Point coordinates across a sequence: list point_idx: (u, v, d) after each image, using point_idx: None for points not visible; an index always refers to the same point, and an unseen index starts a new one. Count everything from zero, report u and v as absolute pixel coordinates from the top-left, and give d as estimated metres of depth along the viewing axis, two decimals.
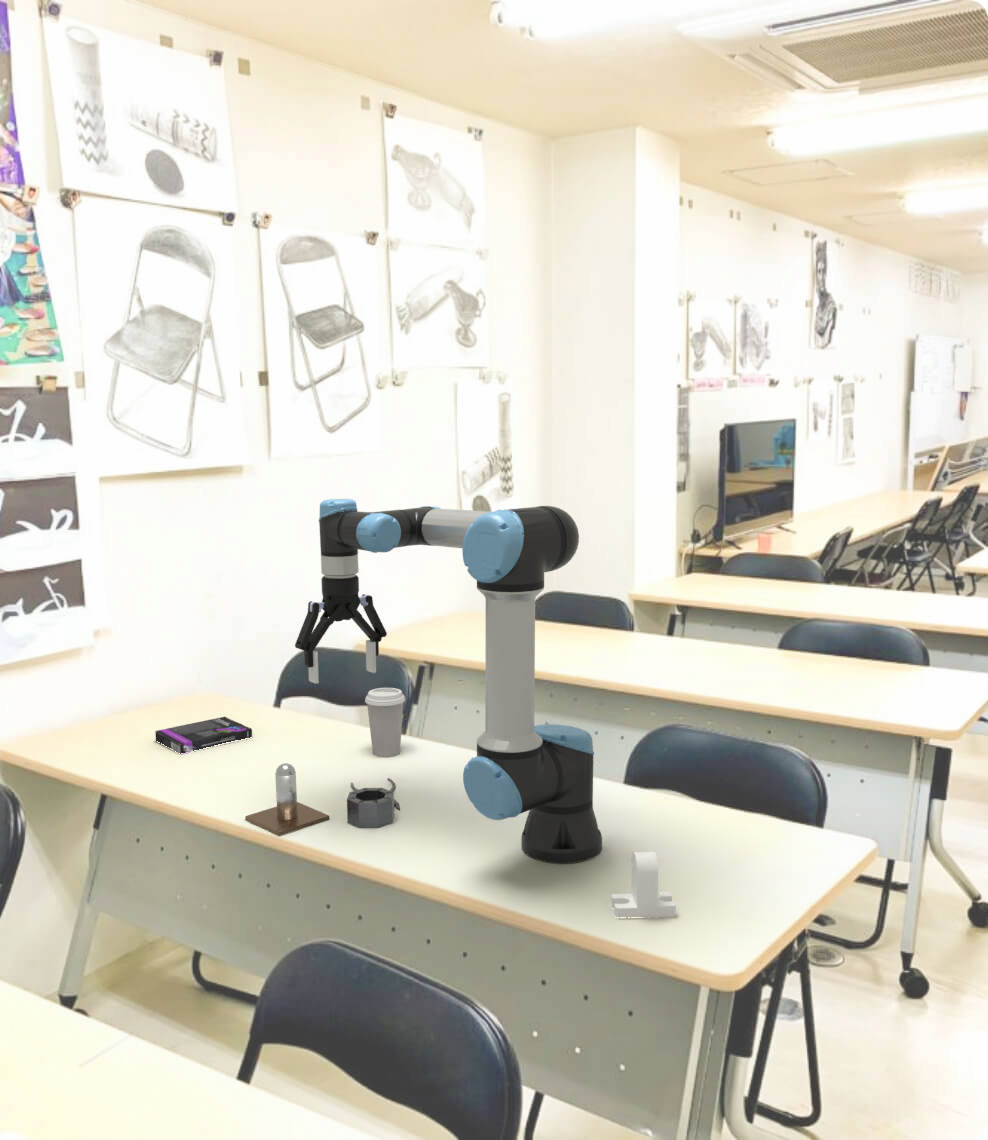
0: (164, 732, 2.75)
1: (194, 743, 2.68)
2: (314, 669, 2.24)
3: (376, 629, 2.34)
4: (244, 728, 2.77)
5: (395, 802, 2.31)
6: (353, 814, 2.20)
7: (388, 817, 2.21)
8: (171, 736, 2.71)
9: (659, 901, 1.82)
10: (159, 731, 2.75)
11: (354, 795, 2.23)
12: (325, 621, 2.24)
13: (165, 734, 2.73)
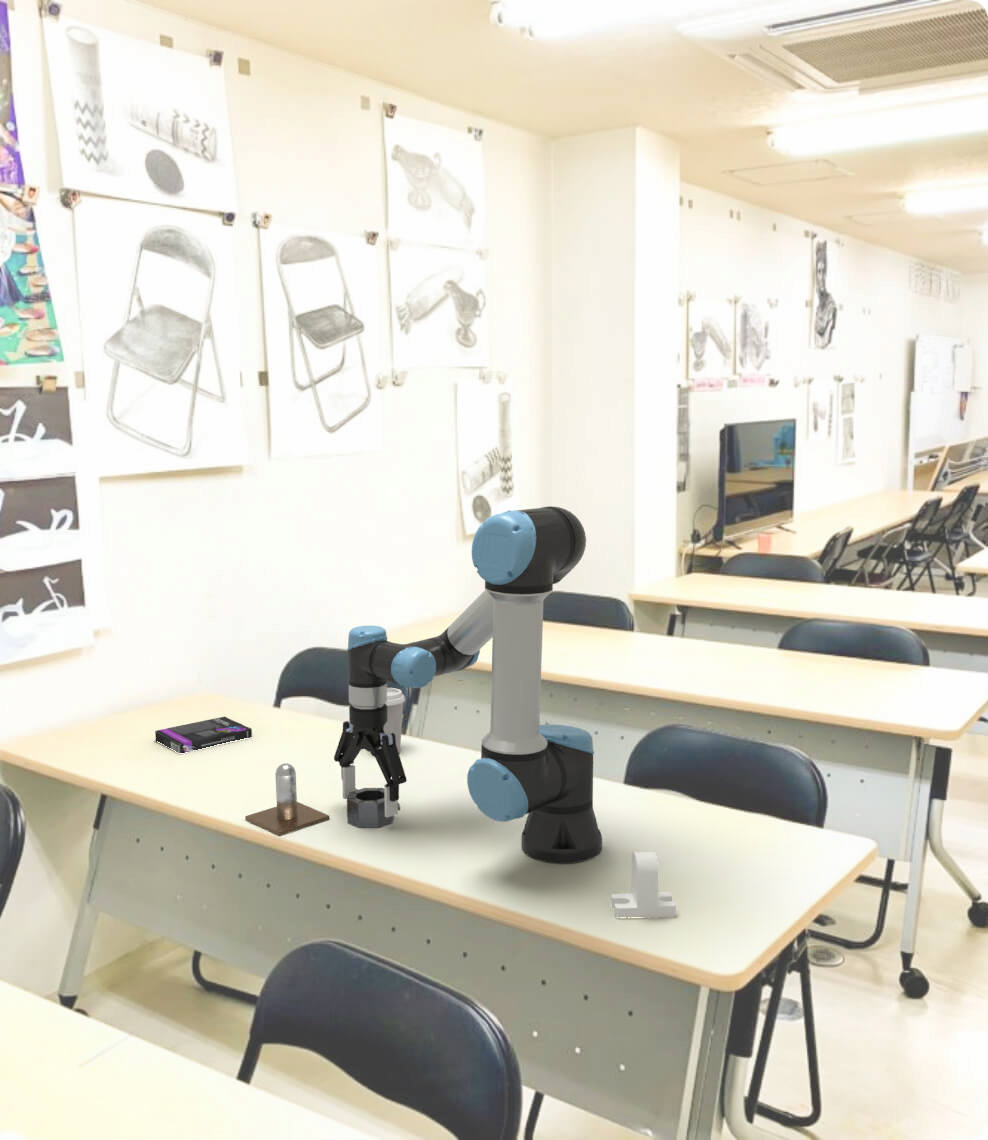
0: (164, 732, 2.75)
1: (193, 743, 2.68)
2: None
3: None
4: (244, 728, 2.77)
5: None
6: (353, 814, 2.20)
7: (388, 817, 2.21)
8: (171, 736, 2.71)
9: (659, 901, 1.82)
10: (159, 731, 2.75)
11: (354, 795, 2.23)
12: None
13: (165, 734, 2.73)
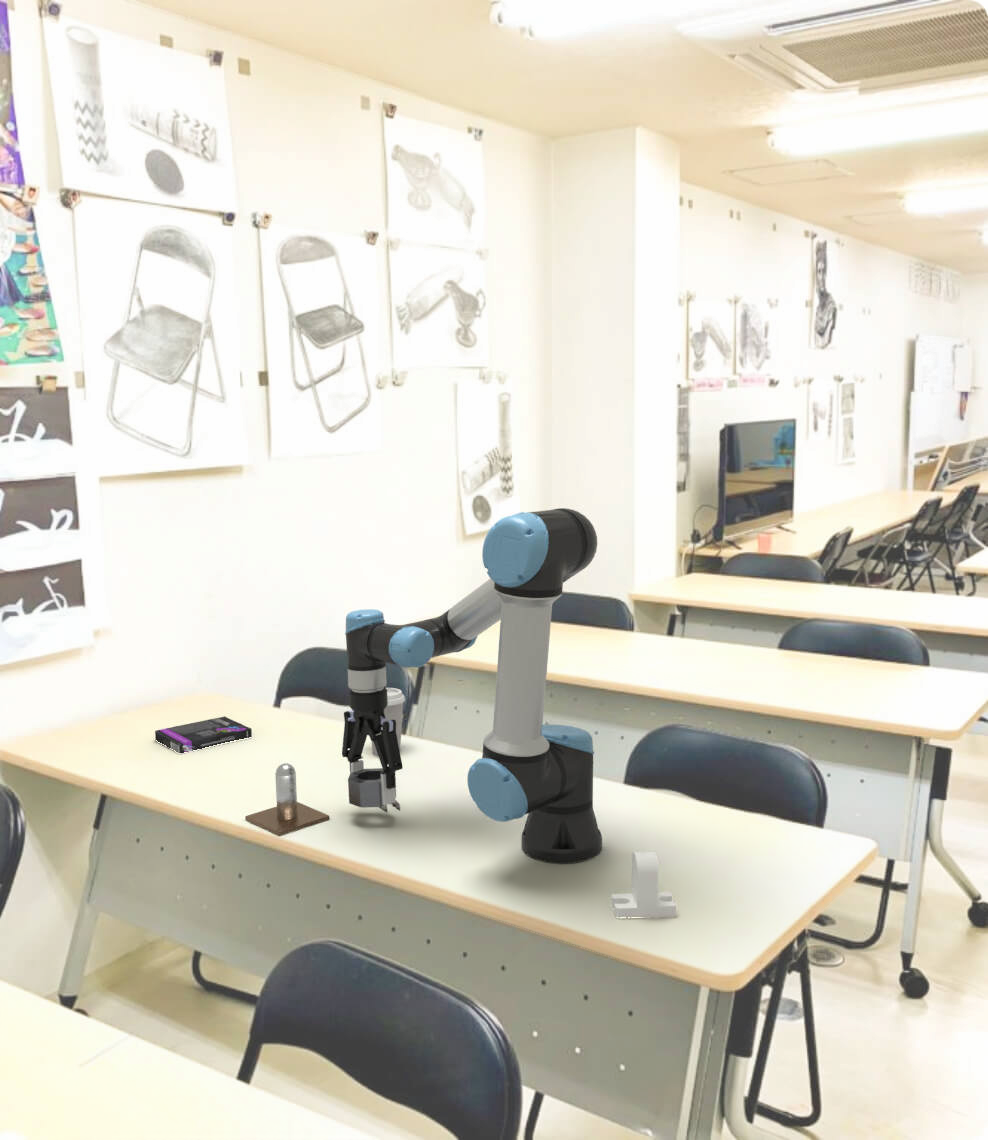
0: (164, 731, 2.75)
1: (193, 743, 2.68)
2: None
3: None
4: (244, 728, 2.78)
5: (395, 802, 2.31)
6: (354, 794, 2.19)
7: None
8: (171, 736, 2.71)
9: (659, 901, 1.82)
10: (159, 731, 2.76)
11: (355, 775, 2.22)
12: None
13: (165, 734, 2.73)
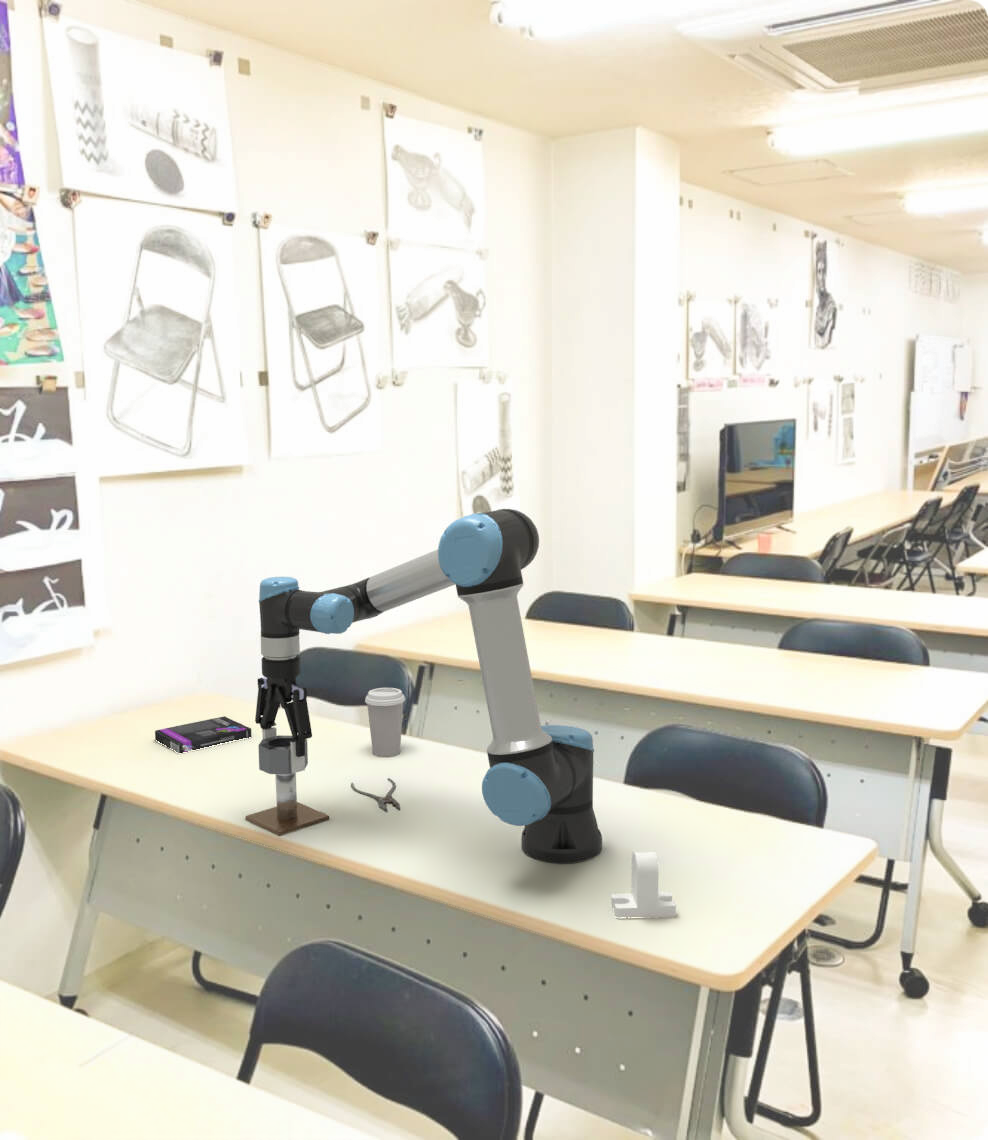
0: (164, 731, 2.75)
1: (193, 743, 2.68)
2: None
3: None
4: (244, 728, 2.78)
5: (395, 802, 2.31)
6: (264, 760, 2.19)
7: None
8: (171, 736, 2.72)
9: (659, 901, 1.82)
10: (159, 731, 2.76)
11: (266, 742, 2.21)
12: None
13: (164, 734, 2.73)
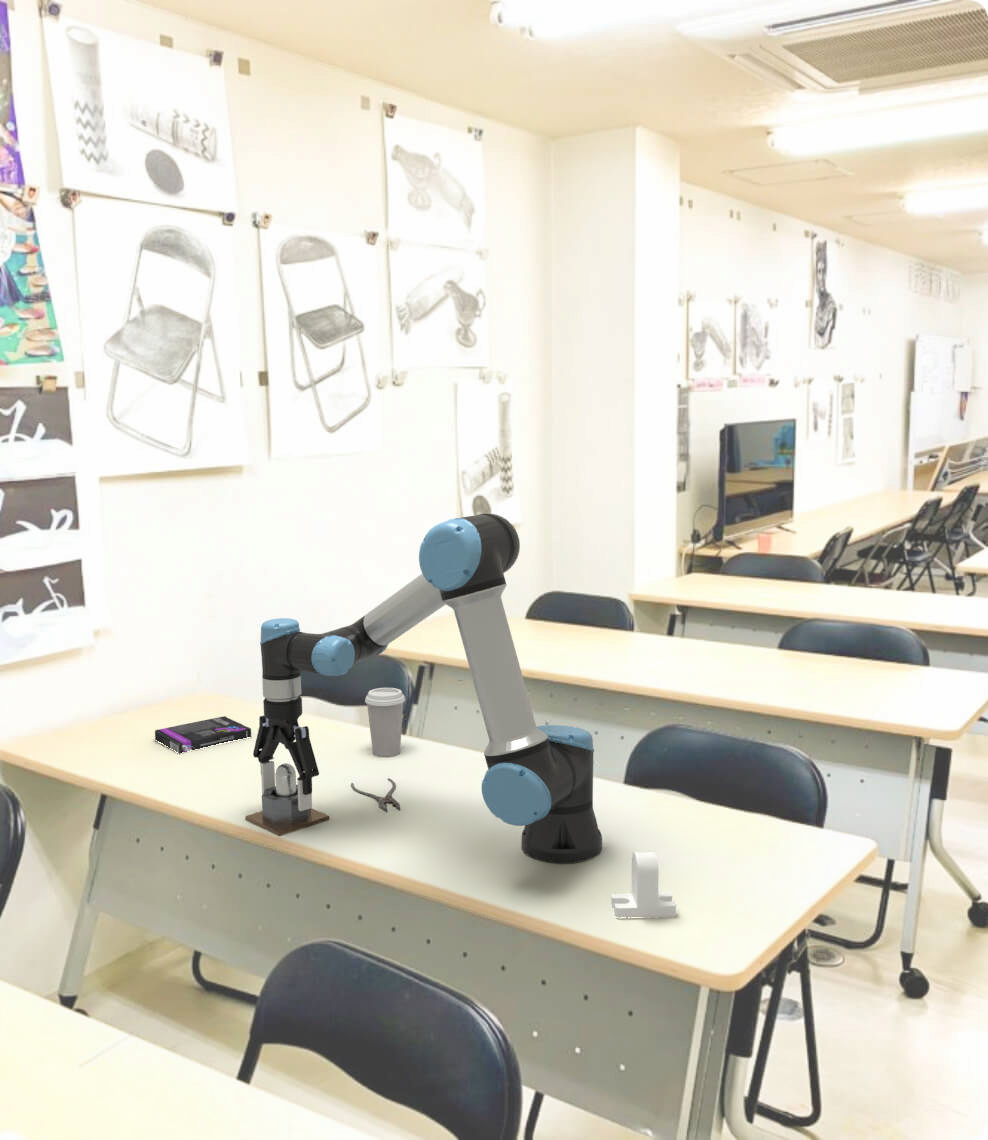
0: (164, 731, 2.75)
1: (192, 742, 2.68)
2: None
3: None
4: (244, 728, 2.78)
5: (395, 802, 2.31)
6: (267, 811, 2.20)
7: (303, 814, 2.21)
8: (170, 736, 2.72)
9: (659, 901, 1.82)
10: (158, 730, 2.76)
11: (270, 792, 2.23)
12: None
13: (164, 733, 2.74)
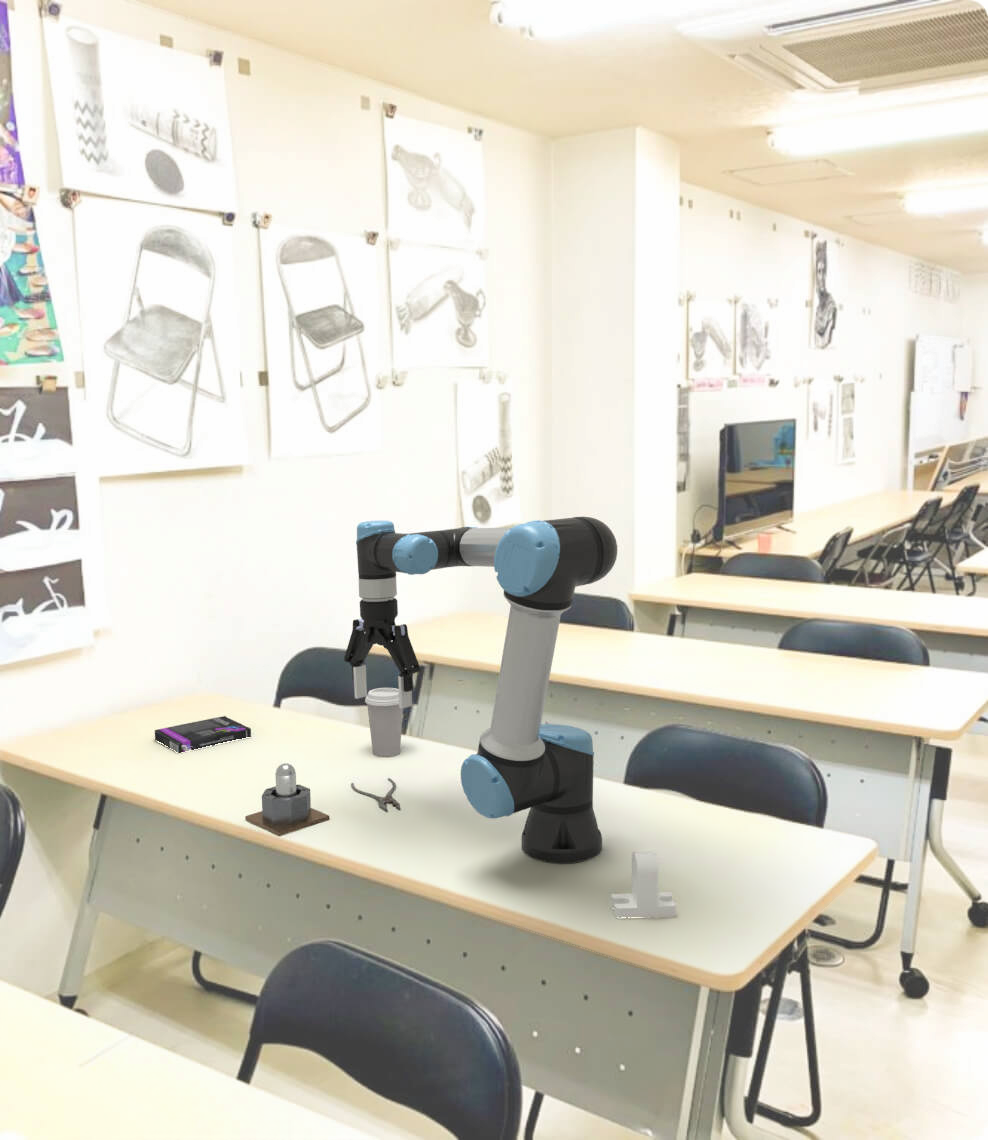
0: (164, 731, 2.75)
1: (192, 742, 2.68)
2: None
3: None
4: (243, 728, 2.78)
5: (395, 802, 2.31)
6: (267, 811, 2.20)
7: (303, 814, 2.21)
8: (170, 736, 2.72)
9: (659, 901, 1.82)
10: (158, 730, 2.76)
11: (270, 792, 2.23)
12: None
13: (164, 733, 2.74)
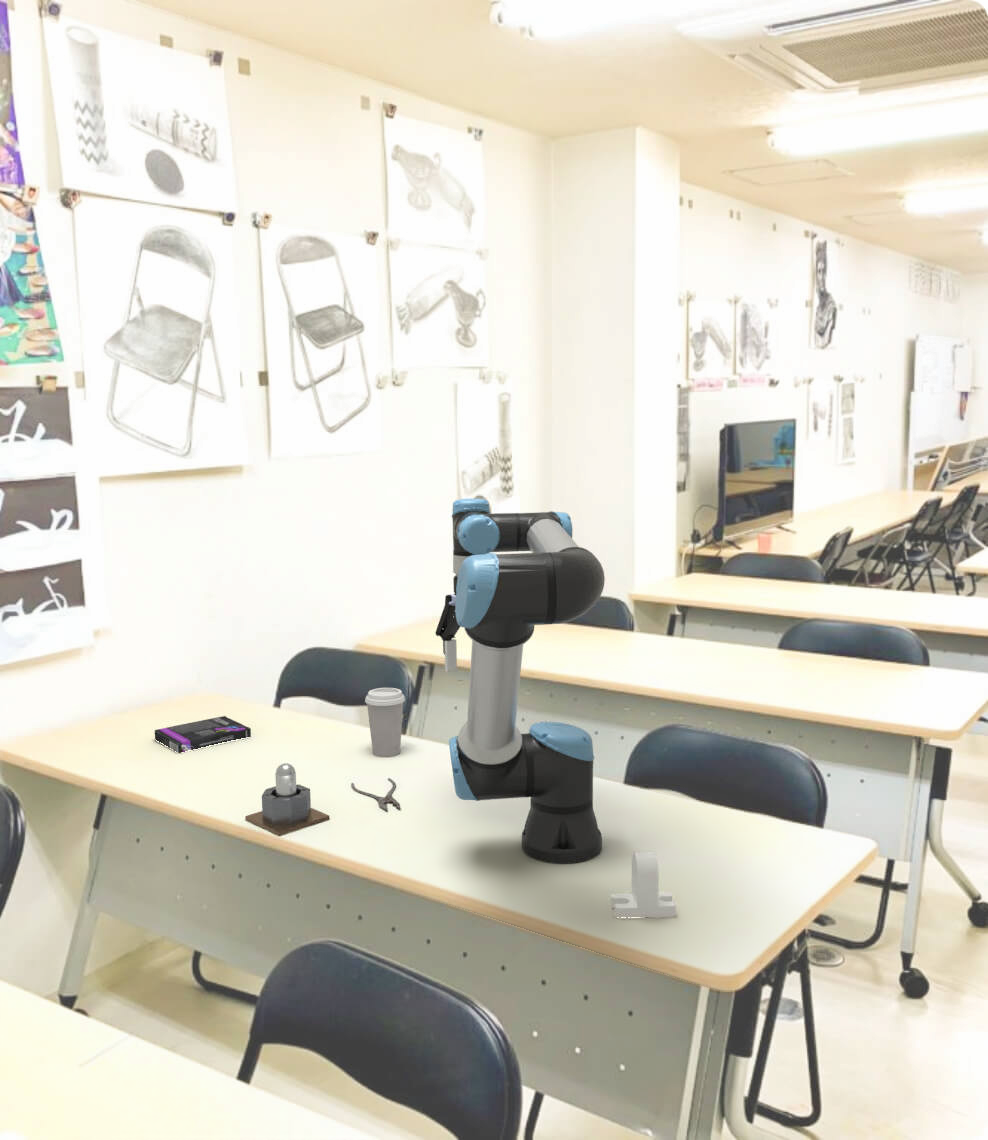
0: (164, 731, 2.76)
1: (192, 742, 2.68)
2: None
3: None
4: (243, 728, 2.78)
5: (395, 802, 2.31)
6: (267, 811, 2.20)
7: (303, 814, 2.21)
8: (170, 735, 2.72)
9: (659, 901, 1.82)
10: (158, 730, 2.76)
11: (270, 792, 2.23)
12: None
13: (164, 733, 2.74)
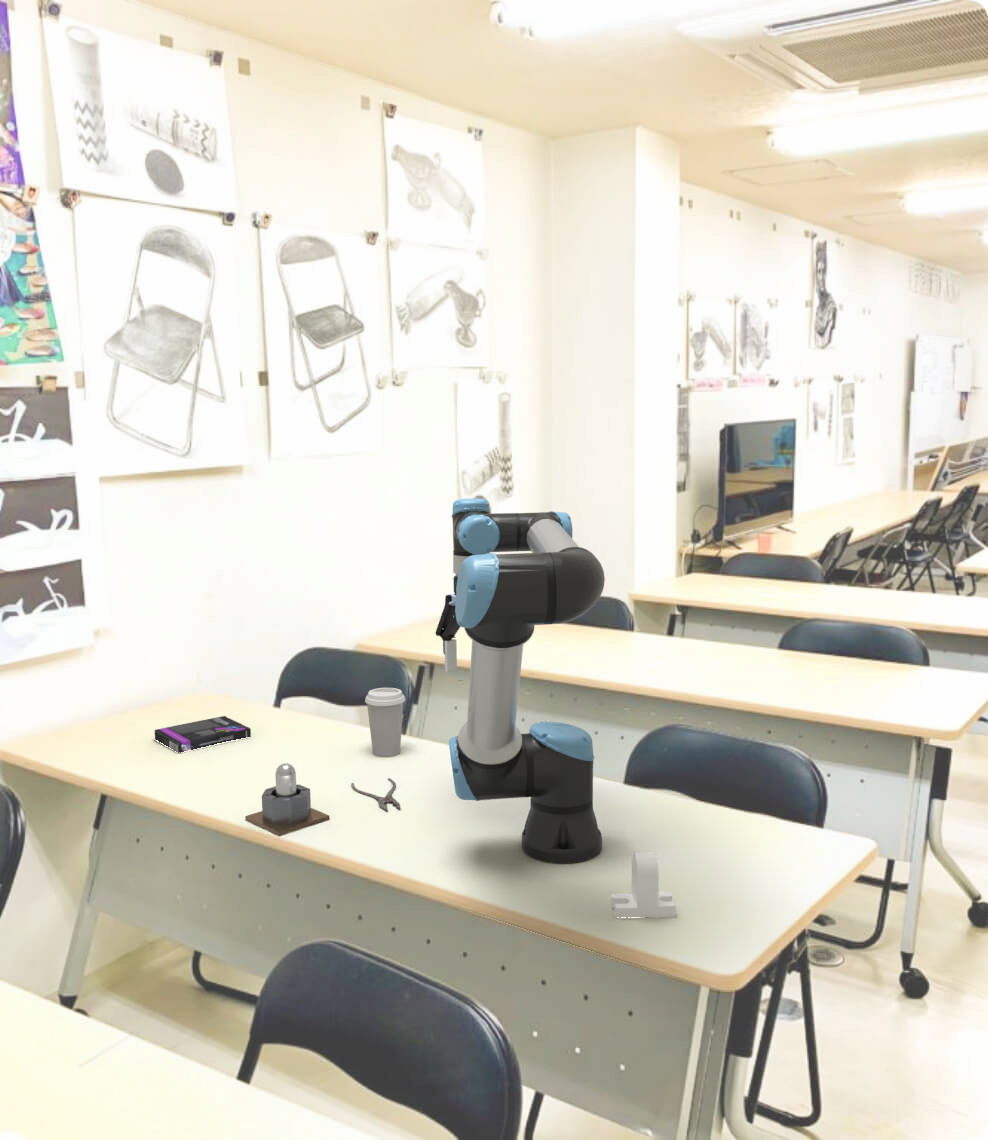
0: (163, 731, 2.76)
1: (192, 742, 2.69)
2: None
3: None
4: (243, 728, 2.78)
5: (395, 802, 2.31)
6: (267, 811, 2.20)
7: (303, 814, 2.21)
8: (170, 735, 2.72)
9: (659, 901, 1.82)
10: (158, 730, 2.76)
11: (270, 792, 2.23)
12: None
13: (164, 733, 2.74)
